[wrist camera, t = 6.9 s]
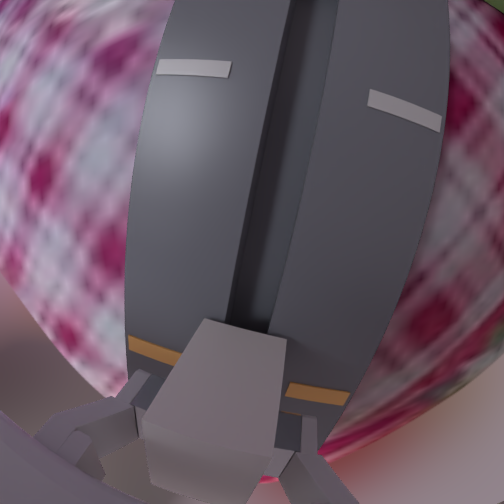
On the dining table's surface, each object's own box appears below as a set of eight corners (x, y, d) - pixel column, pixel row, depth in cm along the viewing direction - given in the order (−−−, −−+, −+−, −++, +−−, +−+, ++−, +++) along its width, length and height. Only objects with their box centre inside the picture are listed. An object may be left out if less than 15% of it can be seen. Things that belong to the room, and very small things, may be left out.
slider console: (215, -16, 9) (195, -50, 6) (422, 24, 8) (448, -3, 5) (153, 377, 16) (131, 410, 13) (313, 419, 15) (312, 459, 12)
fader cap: (215, 300, 12) (141, 418, 5) (288, 318, 11) (272, 457, 5) (204, 372, 13) (151, 484, 7) (266, 388, 12) (241, 510, 6)
